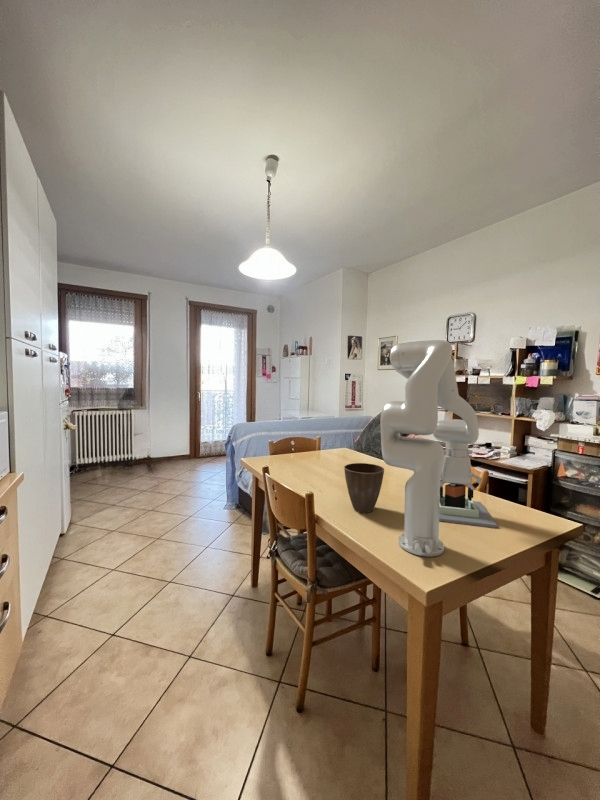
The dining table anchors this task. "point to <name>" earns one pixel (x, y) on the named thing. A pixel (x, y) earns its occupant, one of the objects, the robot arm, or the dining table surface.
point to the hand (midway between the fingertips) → (455, 498)
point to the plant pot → (363, 485)
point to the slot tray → (466, 514)
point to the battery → (455, 495)
